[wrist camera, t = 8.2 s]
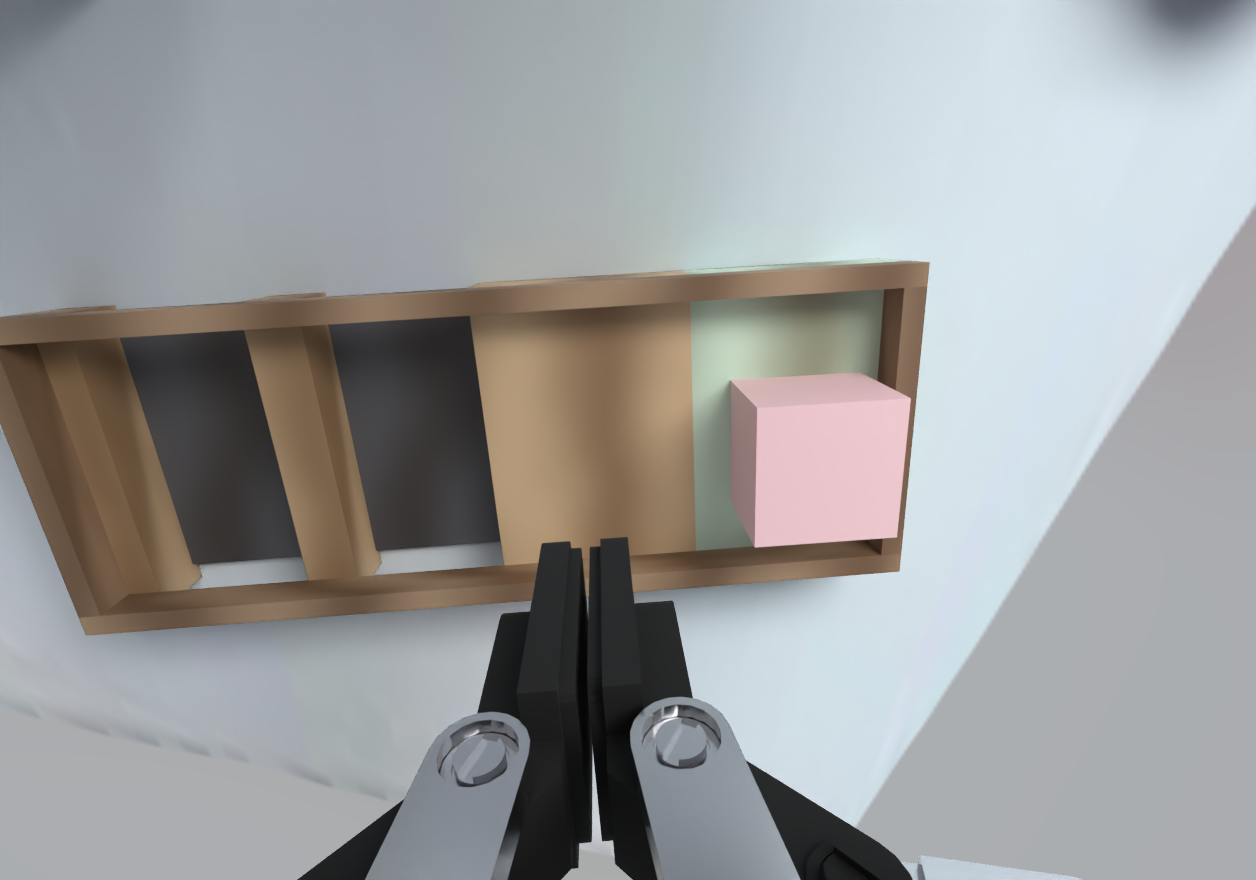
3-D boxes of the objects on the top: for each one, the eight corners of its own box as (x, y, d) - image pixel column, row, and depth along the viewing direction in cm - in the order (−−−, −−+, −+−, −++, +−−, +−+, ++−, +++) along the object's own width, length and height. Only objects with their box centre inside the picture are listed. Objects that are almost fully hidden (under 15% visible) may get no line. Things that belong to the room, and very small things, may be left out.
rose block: (730, 380, 23) (757, 408, 19) (859, 372, 23) (910, 398, 20) (730, 500, 25) (754, 547, 21) (850, 491, 25) (896, 537, 21)
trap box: (156, 580, 27) (85, 635, 24) (62, 308, 23) (-41, 322, 20) (858, 526, 28) (899, 571, 25) (877, 258, 24) (929, 262, 21)
